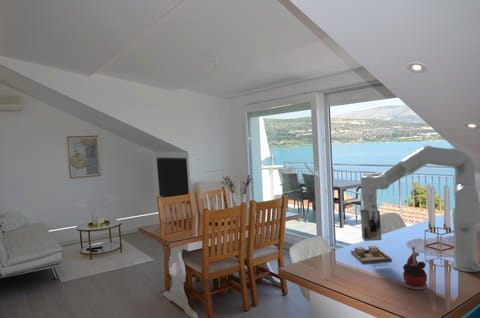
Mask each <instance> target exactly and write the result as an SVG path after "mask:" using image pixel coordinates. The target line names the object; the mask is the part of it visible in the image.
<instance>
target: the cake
mask: <svg viewBox="0 0 480 318" xmlns="http://www.w3.org/2000/svg"><path fill="white" fill-rule="evenodd" d="M411 250H412V253H411V254H410V256H409V257H408V259H407V260H406V263H405V264H404V265H403V266H402V267H403V268H402V269H403V274H402V277H403V280H404V281H403V285H404V287H406V288H408V289H411V290H412V289H413V290H423V289H424V290H425V289H426V288H428V284H427V282H428V281H427V280H428V276H427V275H428V274H427V273H426V271H425V267H426V263H425V262H424V261H421V260H420V261H418V260H417V257H419V256H420V253H419V252H418V251H416V250H415V247H414V246H412V249H411Z"/></svg>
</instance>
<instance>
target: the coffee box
mask: <svg viewBox="0 0 480 318" xmlns="http://www.w3.org/2000/svg"><path fill="white" fill-rule="evenodd" d="M359 211H360V227H361V238H362V241H364V242H372V241H382V230H381V228H382V226H381V216H380V210H378V219H377V232H371V228H370V225H371V222H370V219H369V217H368V212H367V211H365V210H363V209H360V210H359ZM371 219H374V218H373V217H372V218H371ZM372 222H373V220H372Z"/></svg>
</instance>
